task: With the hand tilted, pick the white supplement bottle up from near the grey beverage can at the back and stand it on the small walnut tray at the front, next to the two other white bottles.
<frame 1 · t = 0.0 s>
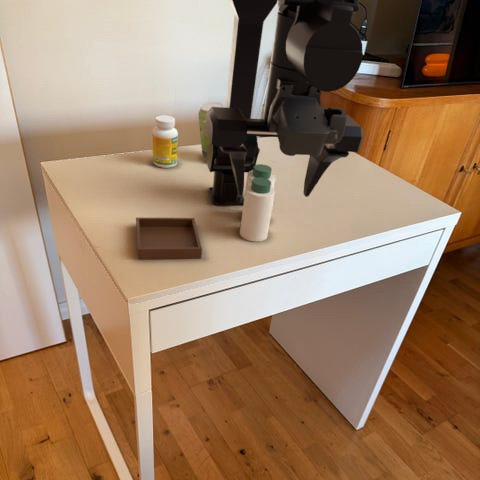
hand: (273, 194, 61), 15 cm above the table, tool pointing down, fingers open, 9 cm apart
white bottle B: (255, 219, 86), on the table
tray: (167, 242, 76), on the table
supplement bottle: (165, 164, 100), on the table
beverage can: (212, 160, 105), on the table
white bottle A: (253, 234, 81), on the table
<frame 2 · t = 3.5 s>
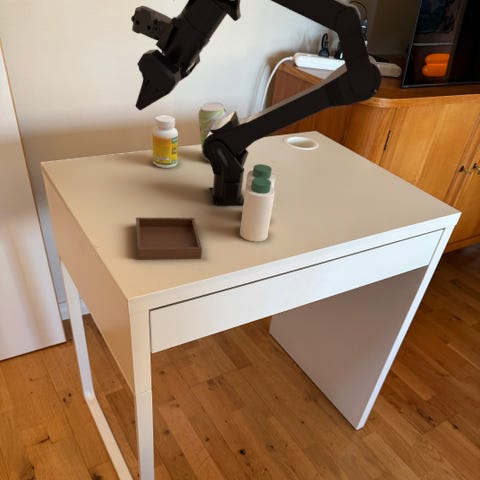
hand: (146, 101, 81), 16 cm above the table, tool tilted 35°, fingers open, 9 cm apart
nothing on the table moved.
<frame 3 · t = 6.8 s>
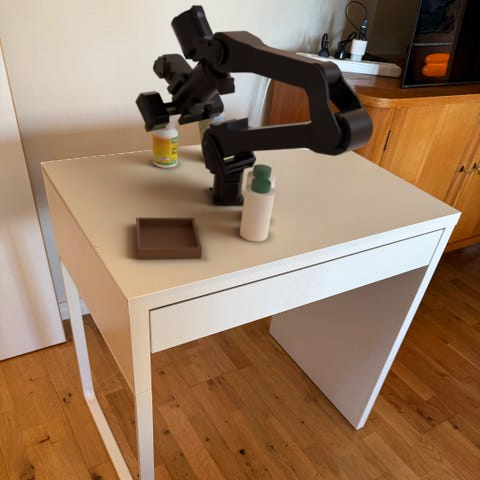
hand: (163, 126, 95), 8 cm above the table, tool tilted 45°, fingers open, 8 cm apart
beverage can: (212, 160, 105), on the table, touching gripper
everything else where it was.
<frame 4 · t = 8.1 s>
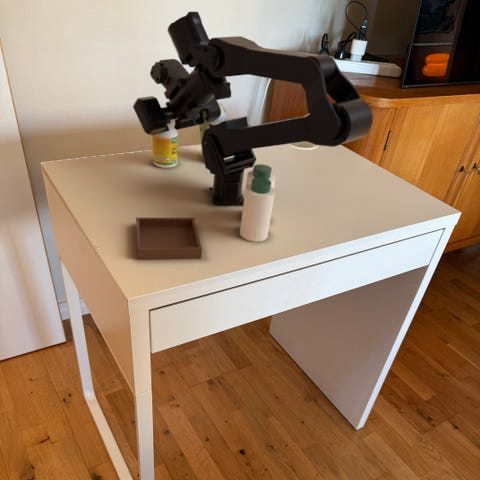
hand: (160, 130, 97), 7 cm above the table, tool tilted 45°, fingers closed on supplement bottle, 5 cm apart
supplement bottle: (165, 164, 100), on the table, touching gripper
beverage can: (212, 160, 105), on the table
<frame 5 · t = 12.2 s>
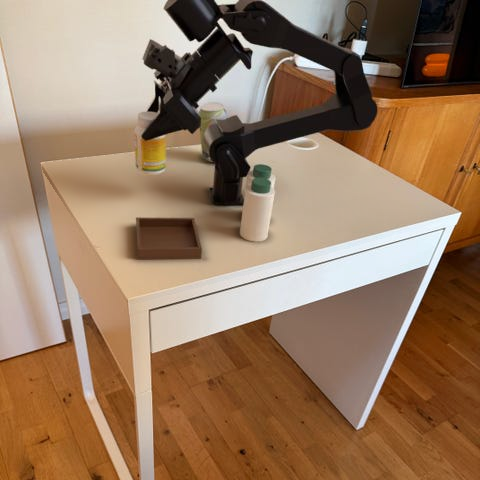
hand: (141, 132, 79), 12 cm above the table, tool tilted 45°, fingers closed on supplement bottle, 5 cm apart
supplement bottle: (151, 170, 84), point 6 cm above the table, touching gripper
everything else where it was.
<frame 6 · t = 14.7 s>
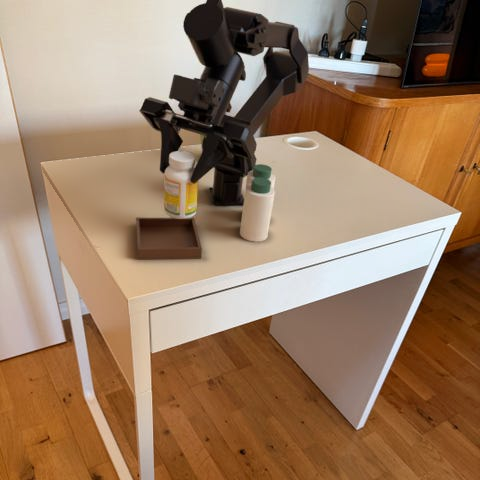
hand: (176, 177, 71), 11 cm above the table, tool tilted 45°, fingers closed on supplement bottle, 5 cm apart
supplement bottle: (180, 213, 76), point 4 cm above the table, touching gripper
everything else where it was.
when the fingers open (7 cm above the table, at t = 16.7 s): supplement bottle stays where it is, resting on tray.
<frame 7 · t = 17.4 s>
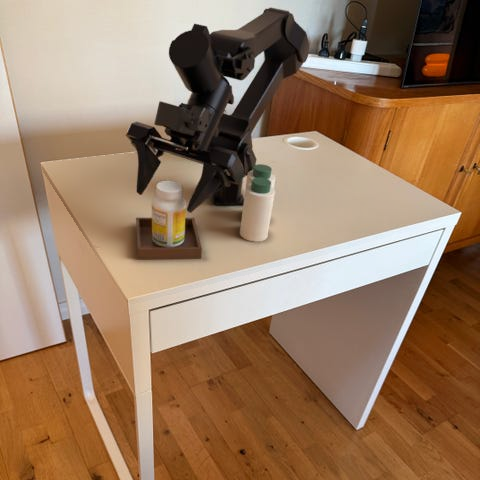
hand: (163, 202, 70), 8 cm above the table, tool tilted 45°, fingers open, 9 cm apart
supplement bottle: (168, 240, 76), resting on tray
everything else where it was.
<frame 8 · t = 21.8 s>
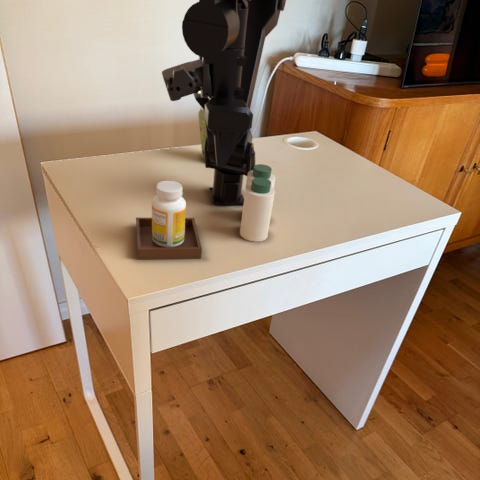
hand: (215, 154, 73), 13 cm above the table, tool pointing down, fingers open, 9 cm apart
nothing on the table moved.
at the end: supplement bottle inside the target area in the tray (0.1 cm from its centre), point 0.2 cm above the tray's base; supplement bottle tilted 0°; the gripper is holding nothing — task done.
